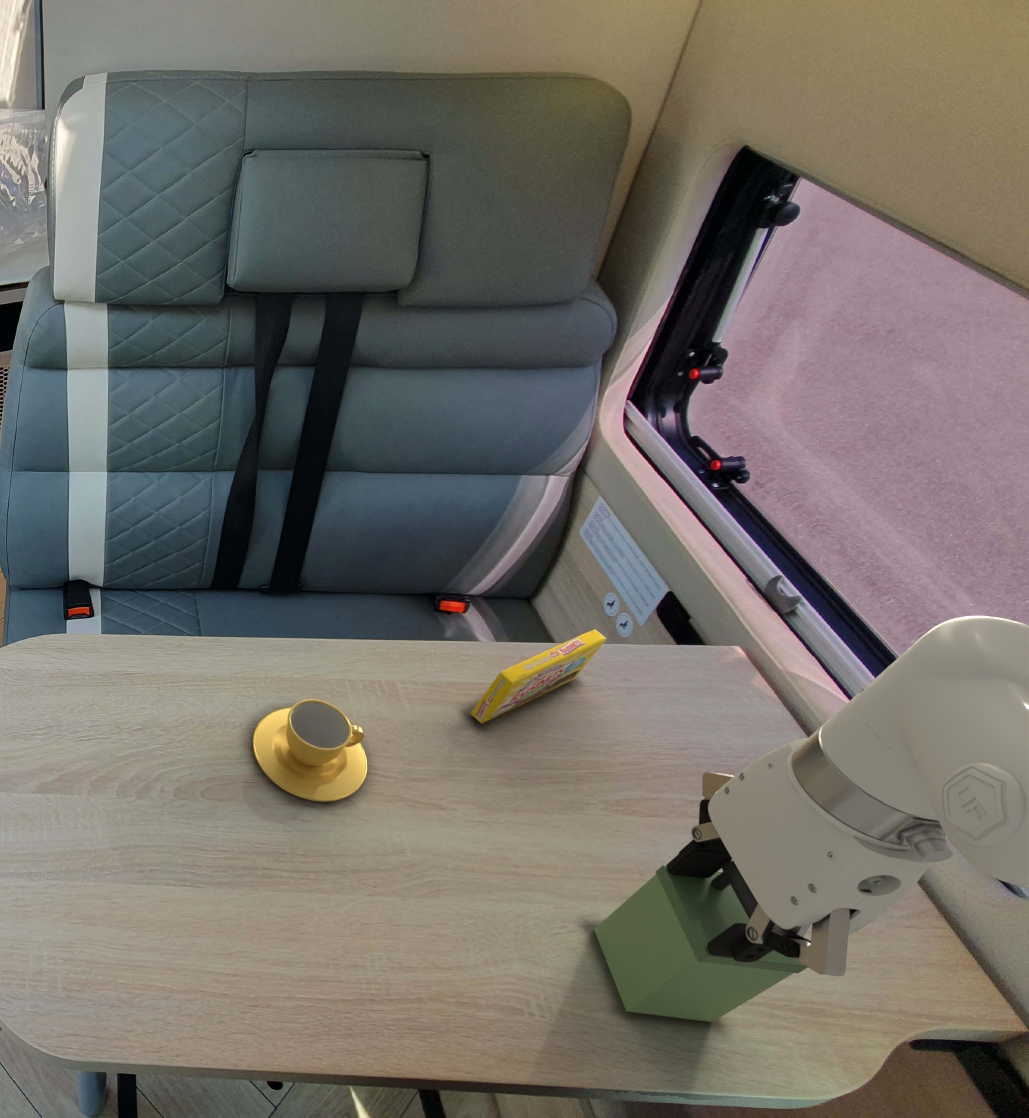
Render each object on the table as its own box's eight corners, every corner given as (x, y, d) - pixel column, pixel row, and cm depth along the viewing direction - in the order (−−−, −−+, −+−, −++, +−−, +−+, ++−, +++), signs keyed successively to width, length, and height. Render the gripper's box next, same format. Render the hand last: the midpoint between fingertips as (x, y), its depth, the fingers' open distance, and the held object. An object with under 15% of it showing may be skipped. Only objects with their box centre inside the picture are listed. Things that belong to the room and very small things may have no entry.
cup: (265, 803, 82) (276, 774, 79) (242, 709, 91) (251, 678, 88) (381, 803, 83) (398, 774, 79) (346, 709, 92) (360, 679, 88)
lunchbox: (718, 1024, 68) (844, 949, 57) (625, 1012, 68) (733, 936, 58) (677, 937, 73) (786, 855, 63) (591, 927, 74) (685, 844, 63)
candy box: (483, 727, 90) (512, 683, 85) (468, 714, 91) (496, 669, 86) (575, 682, 95) (608, 637, 90) (561, 670, 96) (592, 625, 91)
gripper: (1049, 926, 44) (826, 1038, 56) (847, 681, 57) (700, 816, 69) (904, 911, 44) (713, 1025, 57) (735, 672, 57) (609, 807, 69)
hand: (707, 909), depth 63 cm, fingers closed on lunchbox, 5 cm apart
